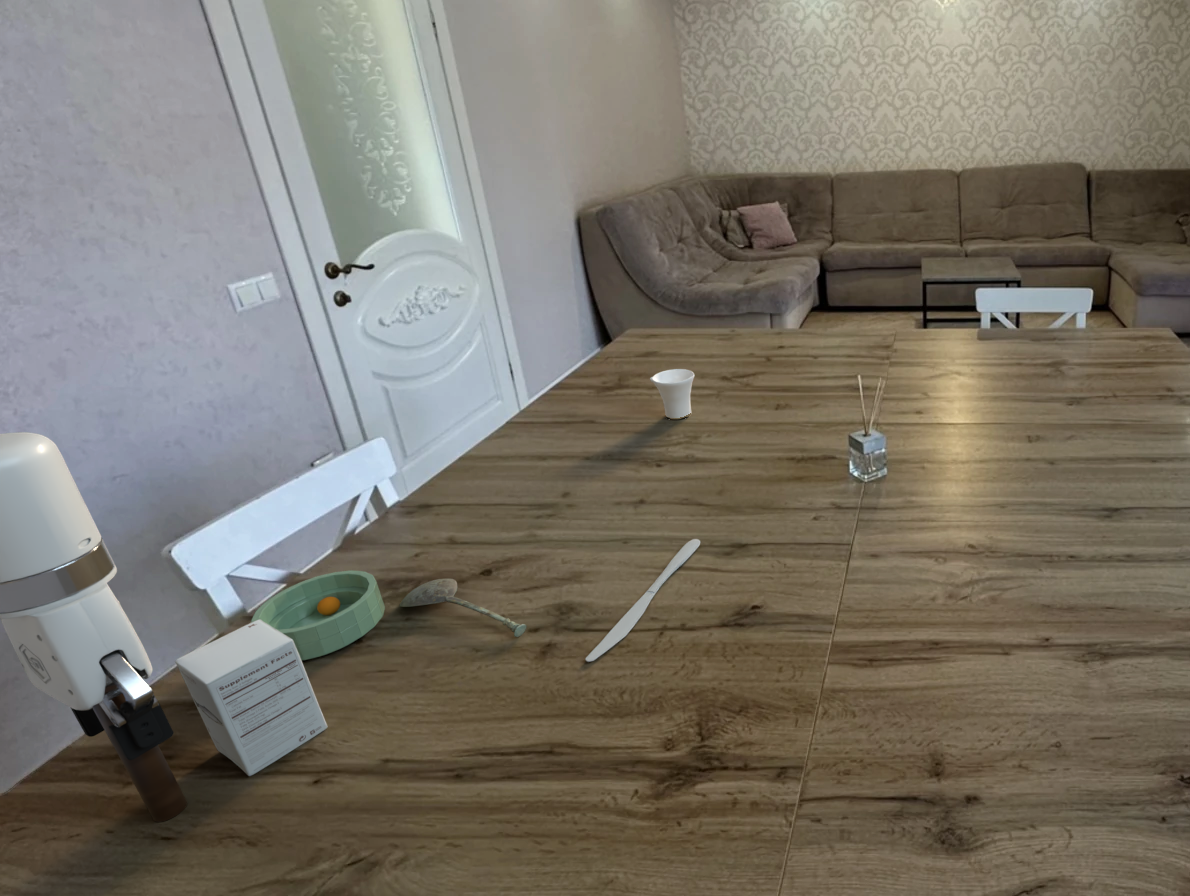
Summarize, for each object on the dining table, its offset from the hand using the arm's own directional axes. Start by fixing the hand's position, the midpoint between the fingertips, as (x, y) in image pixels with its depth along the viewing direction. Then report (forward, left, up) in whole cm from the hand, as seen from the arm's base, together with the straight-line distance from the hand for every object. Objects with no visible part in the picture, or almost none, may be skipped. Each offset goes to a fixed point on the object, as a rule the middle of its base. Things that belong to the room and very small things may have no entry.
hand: (130, 734), depth 67 cm
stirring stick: (0, 0, -10) cm, 10 cm away
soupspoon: (+24, +20, -10) cm, 33 cm away
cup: (+62, +75, -10) cm, 98 cm away
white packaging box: (+7, +6, -10) cm, 14 cm away
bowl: (+8, +25, -10) cm, 28 cm away
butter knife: (+47, +12, -10) cm, 50 cm away
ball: (+8, +28, -8) cm, 30 cm away
